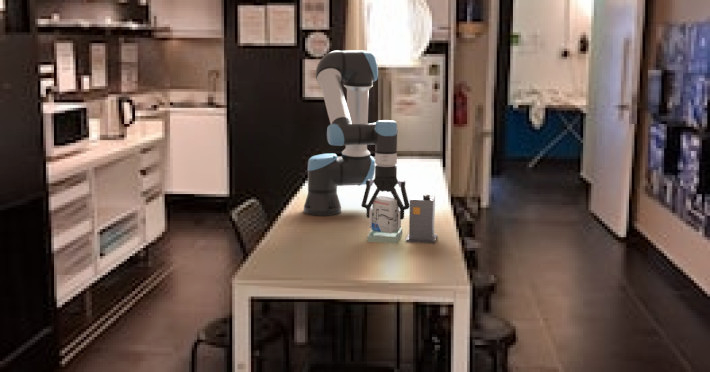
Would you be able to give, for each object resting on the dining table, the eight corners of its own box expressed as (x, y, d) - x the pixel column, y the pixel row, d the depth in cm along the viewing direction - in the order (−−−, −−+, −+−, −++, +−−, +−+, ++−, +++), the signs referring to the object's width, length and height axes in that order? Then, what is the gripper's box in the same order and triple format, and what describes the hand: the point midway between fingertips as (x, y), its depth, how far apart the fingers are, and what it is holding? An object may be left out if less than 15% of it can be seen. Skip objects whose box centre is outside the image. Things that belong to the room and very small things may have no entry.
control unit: (405, 241, 272) (406, 196, 269) (409, 234, 281) (409, 191, 278) (434, 243, 270) (435, 197, 267) (437, 236, 279) (438, 192, 276)
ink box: (371, 230, 278) (371, 197, 276) (379, 227, 282) (379, 195, 280) (390, 233, 273) (391, 200, 271) (399, 231, 277) (399, 198, 275)
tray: (367, 241, 272) (367, 235, 271) (373, 231, 286) (373, 226, 285) (396, 243, 270) (397, 237, 270) (402, 233, 284) (402, 227, 283)
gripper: (352, 165, 271) (352, 228, 276) (416, 167, 267) (415, 231, 272) (356, 162, 279) (356, 223, 283) (418, 164, 275) (417, 226, 279)
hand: (385, 227), depth 277 cm, fingers closed on ink box, 9 cm apart
